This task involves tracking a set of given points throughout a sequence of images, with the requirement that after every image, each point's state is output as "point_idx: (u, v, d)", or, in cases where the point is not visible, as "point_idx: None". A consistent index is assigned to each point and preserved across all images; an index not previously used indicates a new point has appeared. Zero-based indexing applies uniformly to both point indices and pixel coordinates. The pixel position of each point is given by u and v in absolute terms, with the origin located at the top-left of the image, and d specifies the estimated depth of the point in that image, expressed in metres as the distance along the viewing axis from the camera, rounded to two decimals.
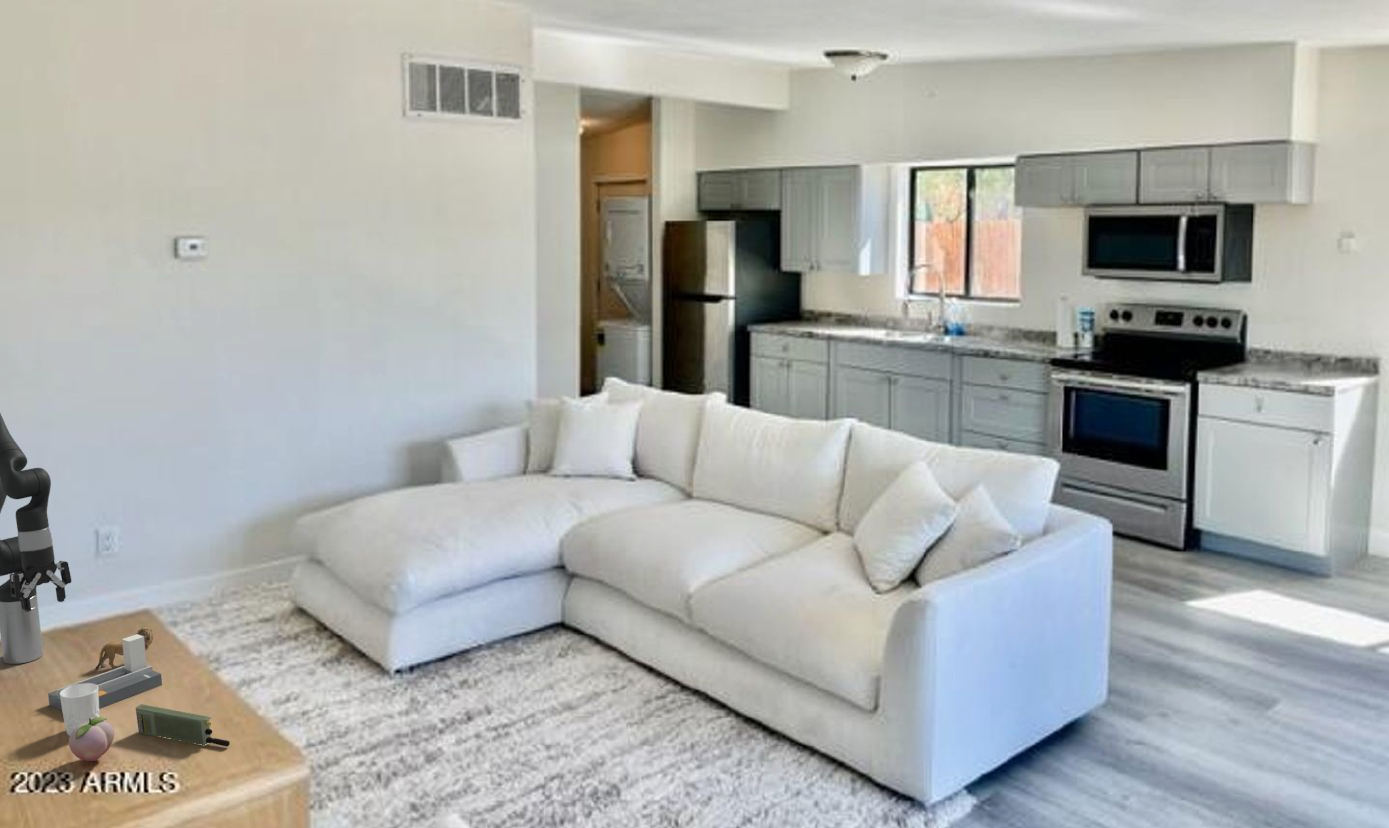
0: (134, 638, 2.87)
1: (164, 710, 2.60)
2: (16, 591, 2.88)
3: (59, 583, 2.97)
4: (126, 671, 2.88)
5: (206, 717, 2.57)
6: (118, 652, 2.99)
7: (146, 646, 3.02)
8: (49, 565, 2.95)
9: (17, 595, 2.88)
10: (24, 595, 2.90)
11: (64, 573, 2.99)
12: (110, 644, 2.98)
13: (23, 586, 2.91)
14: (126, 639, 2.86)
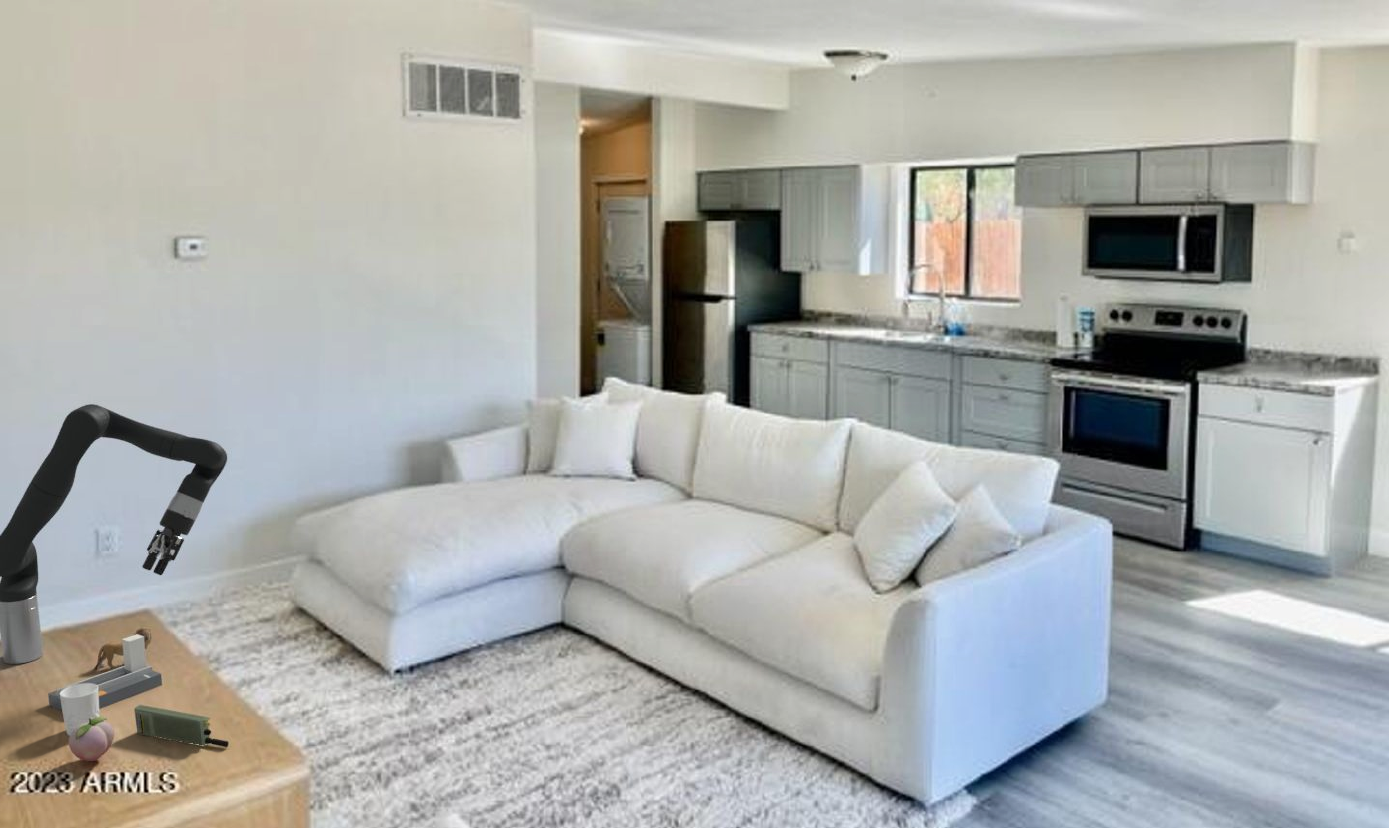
0: (134, 638, 2.87)
1: (163, 711, 2.60)
2: None
3: None
4: (126, 671, 2.88)
5: (205, 717, 2.57)
6: (117, 652, 2.99)
7: (145, 646, 3.02)
8: None
9: (174, 558, 2.88)
10: None
11: None
12: (109, 644, 2.98)
13: (165, 549, 2.89)
14: (126, 639, 2.86)
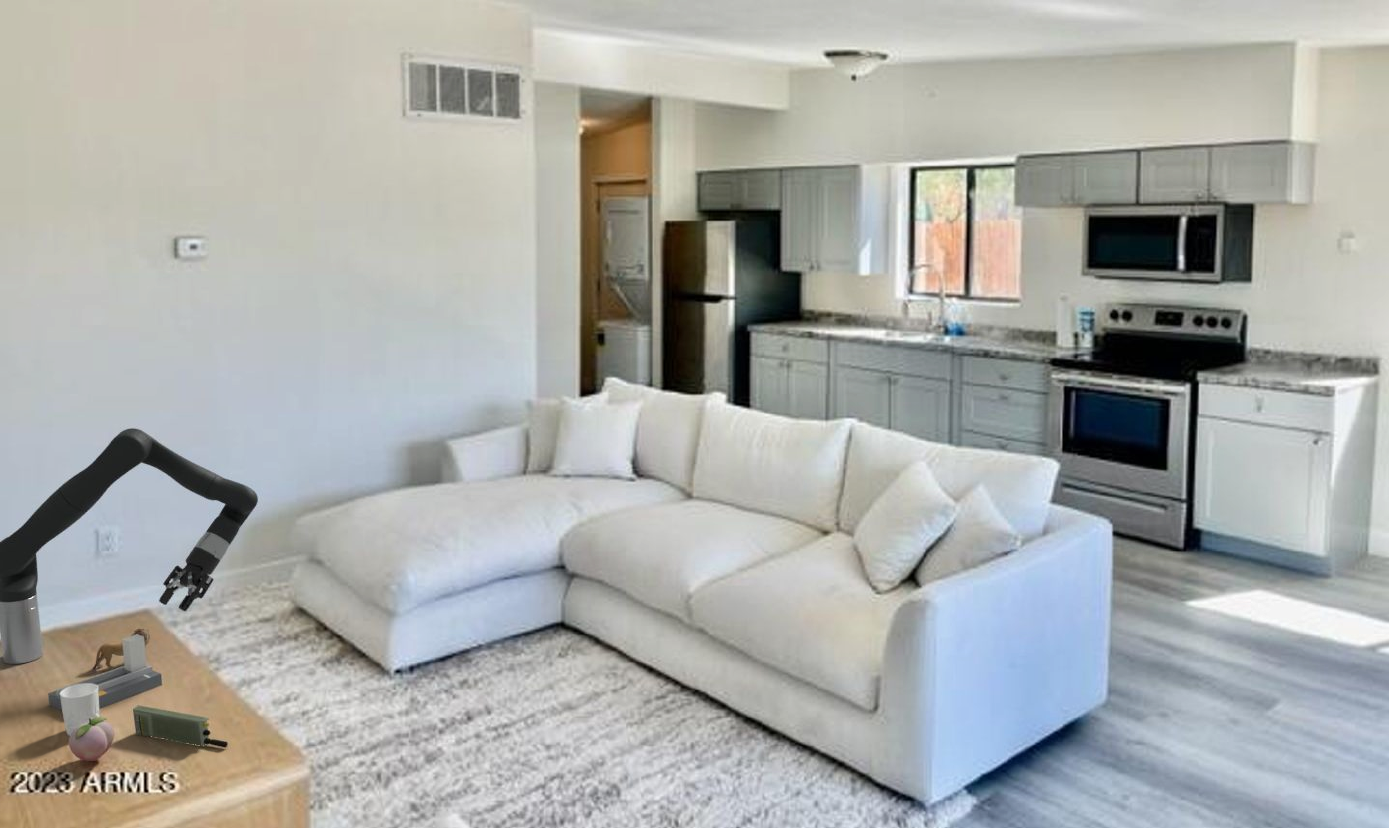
0: (134, 638, 2.87)
1: (161, 711, 2.60)
2: None
3: None
4: (126, 671, 2.88)
5: (204, 718, 2.56)
6: (115, 652, 2.98)
7: None
8: None
9: None
10: None
11: None
12: (107, 644, 2.98)
13: (193, 586, 2.96)
14: (126, 639, 2.86)
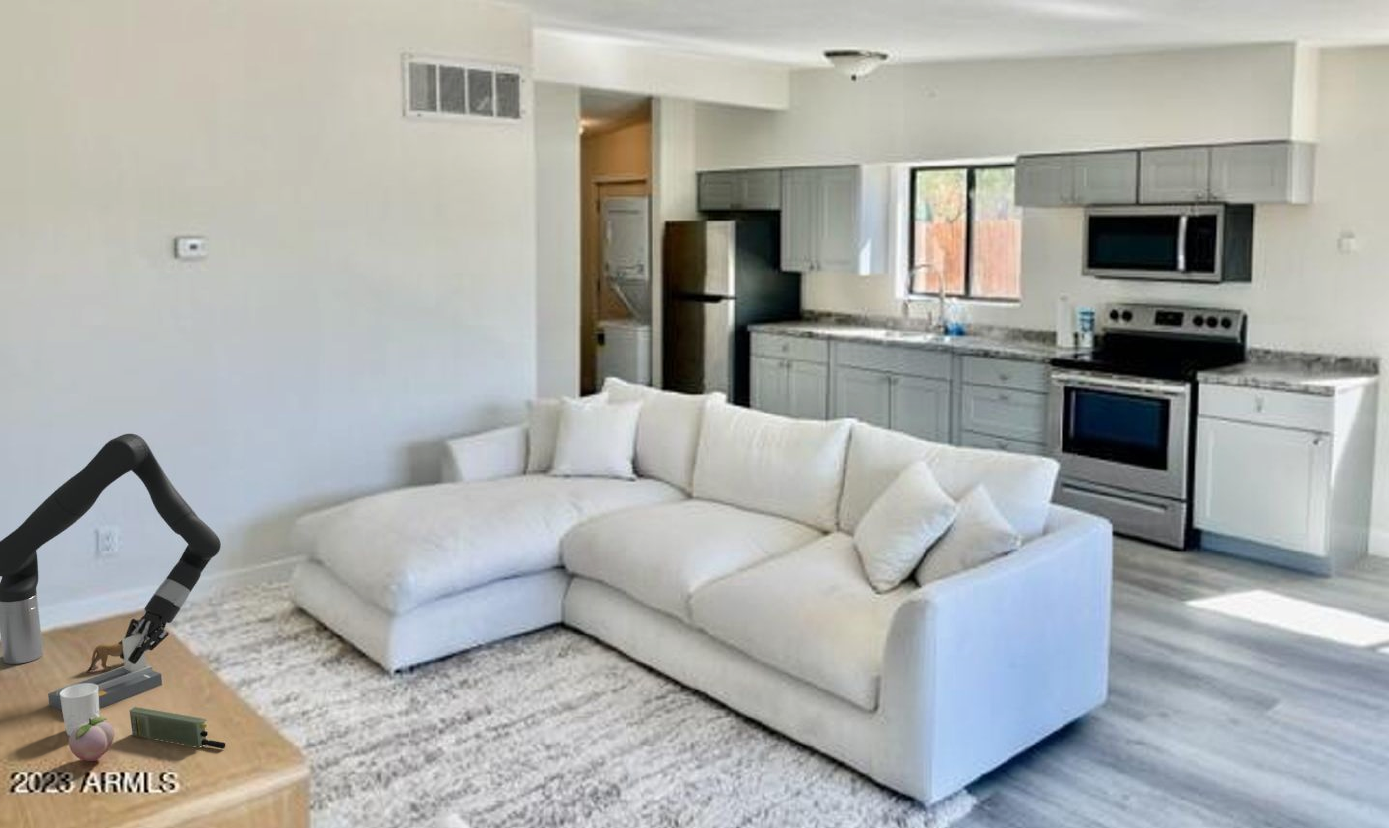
0: (134, 638, 2.87)
1: (158, 713, 2.59)
2: None
3: None
4: (126, 671, 2.88)
5: (201, 719, 2.56)
6: (111, 653, 2.98)
7: None
8: None
9: None
10: None
11: None
12: (102, 645, 2.97)
13: (146, 638, 2.87)
14: (126, 639, 2.86)
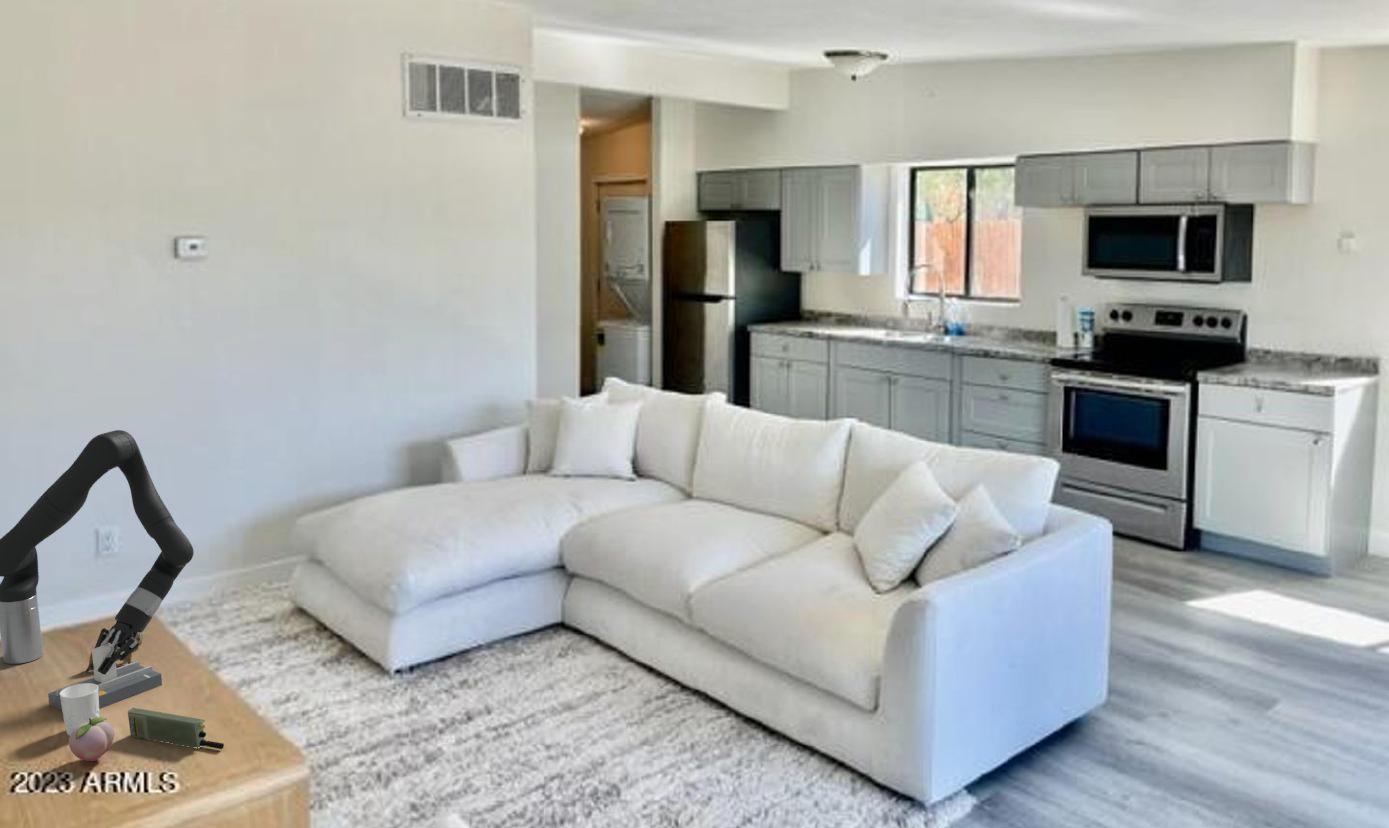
0: (104, 648, 2.80)
1: (157, 713, 2.59)
2: None
3: None
4: (96, 682, 2.81)
5: (200, 720, 2.55)
6: None
7: None
8: None
9: None
10: None
11: None
12: None
13: (116, 648, 2.81)
14: (96, 649, 2.80)
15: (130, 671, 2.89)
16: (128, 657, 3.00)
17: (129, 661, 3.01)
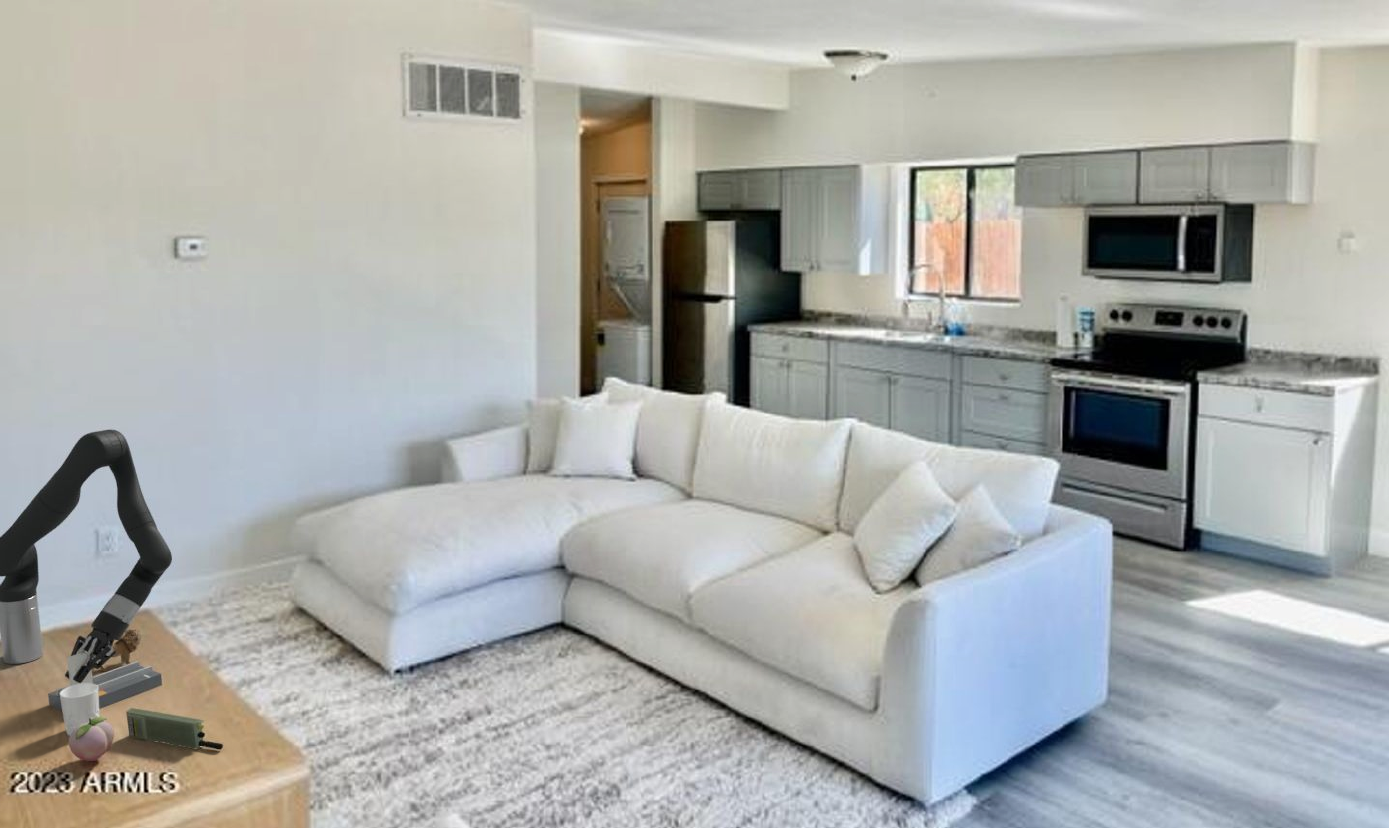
0: (80, 656, 2.75)
1: (155, 714, 2.58)
2: None
3: None
4: None
5: (199, 720, 2.55)
6: None
7: (135, 647, 3.01)
8: None
9: None
10: None
11: (83, 650, 2.81)
12: None
13: (92, 656, 2.76)
14: (71, 657, 2.75)
15: (130, 671, 2.89)
16: (126, 657, 3.00)
17: (127, 661, 3.00)
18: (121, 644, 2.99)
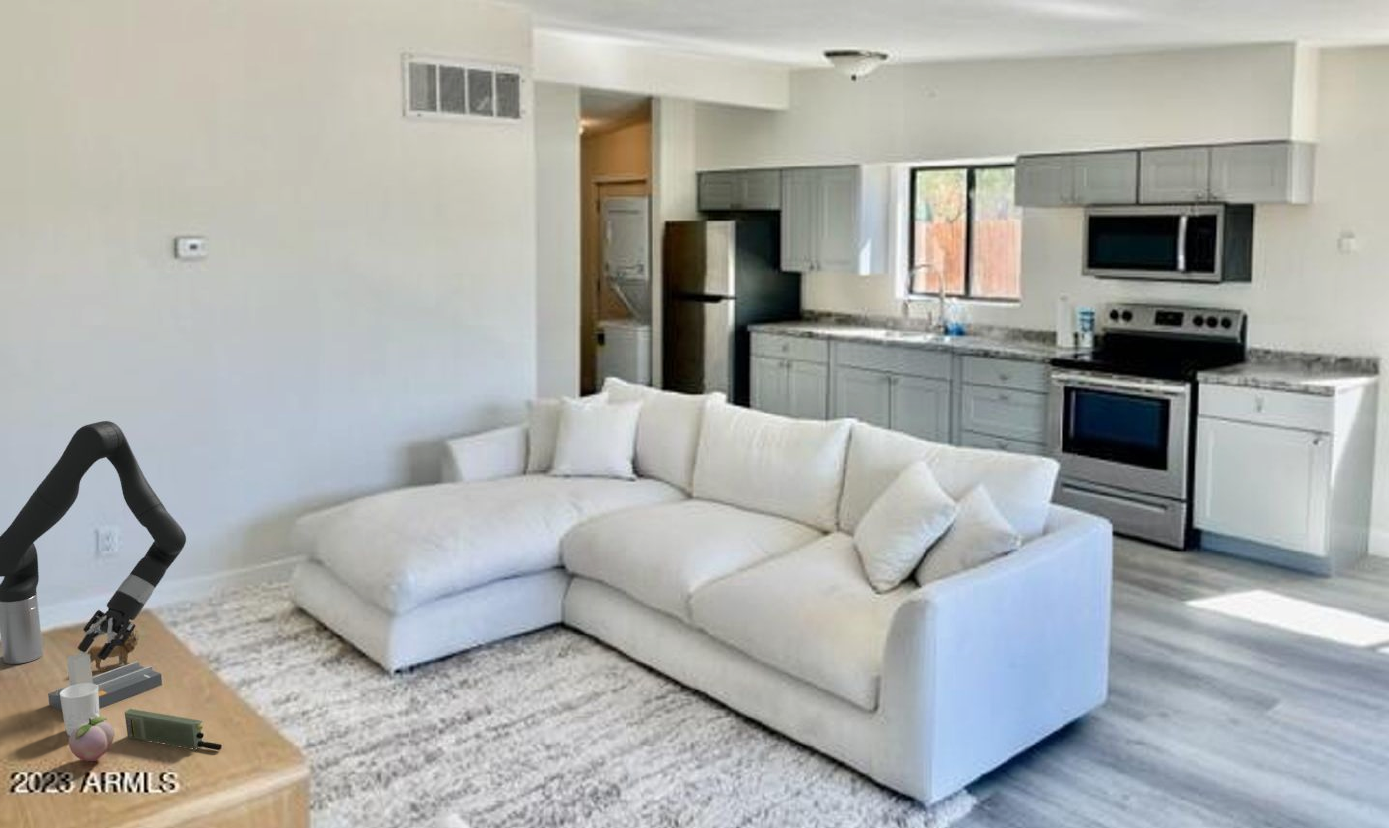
0: (79, 656, 2.75)
1: (154, 714, 2.58)
2: None
3: None
4: None
5: (197, 721, 2.55)
6: None
7: (133, 647, 3.01)
8: None
9: None
10: None
11: None
12: (96, 646, 2.96)
13: (113, 633, 2.78)
14: (71, 657, 2.75)
15: (130, 671, 2.89)
16: (124, 657, 3.00)
17: (125, 661, 3.00)
18: None
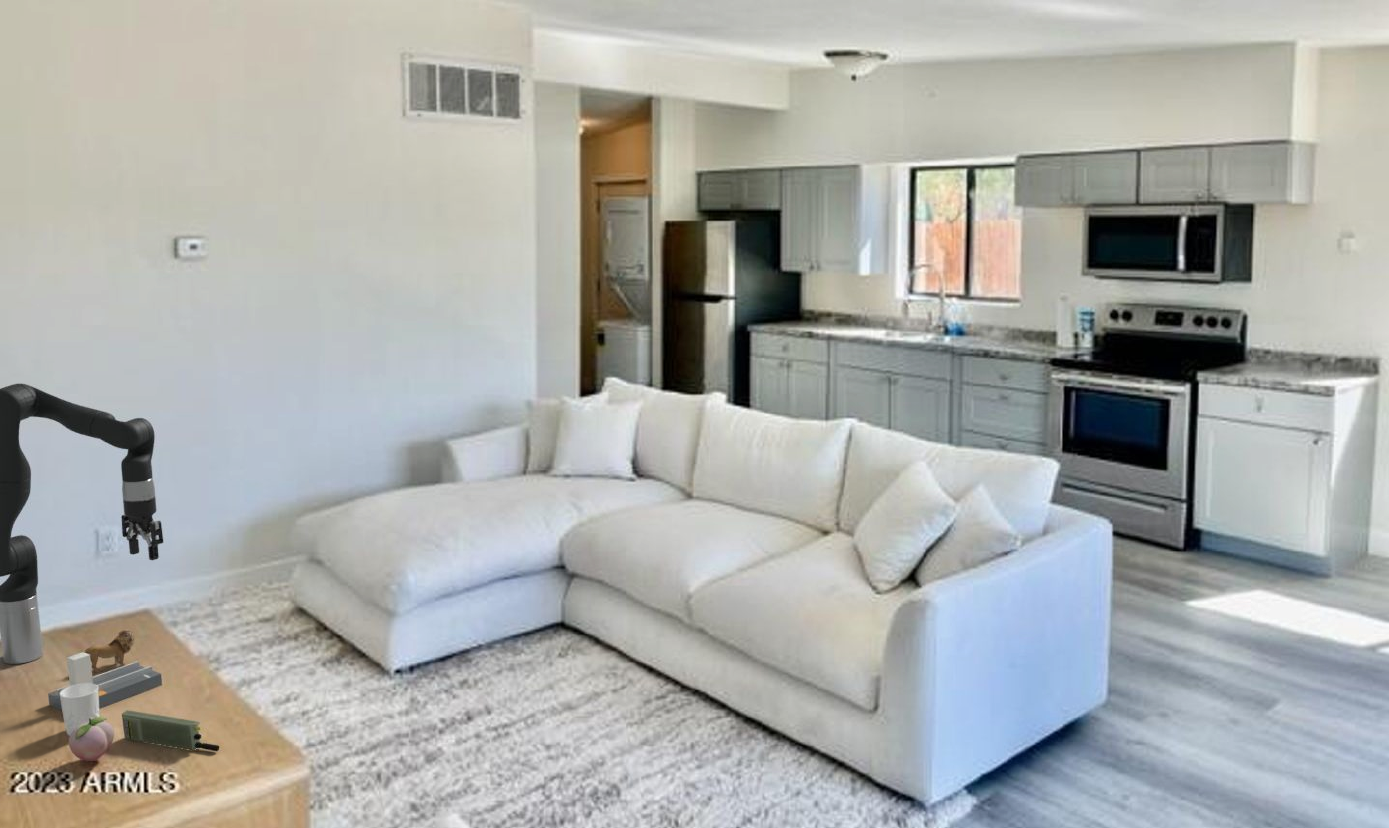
0: (79, 656, 2.75)
1: (151, 716, 2.58)
2: None
3: None
4: None
5: (195, 722, 2.54)
6: (101, 655, 2.97)
7: (129, 648, 3.01)
8: None
9: None
10: None
11: None
12: (93, 647, 2.96)
13: (148, 536, 2.91)
14: (71, 657, 2.75)
15: (130, 671, 2.89)
16: (120, 658, 2.99)
17: (121, 662, 3.00)
18: (115, 644, 2.99)
